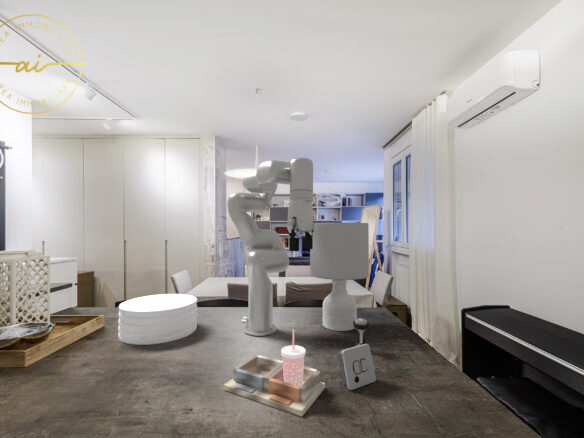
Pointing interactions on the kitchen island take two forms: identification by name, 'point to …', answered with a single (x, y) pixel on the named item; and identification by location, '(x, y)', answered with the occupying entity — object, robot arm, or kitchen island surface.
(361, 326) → the push button
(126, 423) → the kitchen island surface
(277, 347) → the kitchen island surface
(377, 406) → the kitchen island surface
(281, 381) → the socket board
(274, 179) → the robot arm
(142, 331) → the plate stack
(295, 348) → the beverage cup
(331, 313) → the lamp
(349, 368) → the electrical switch
